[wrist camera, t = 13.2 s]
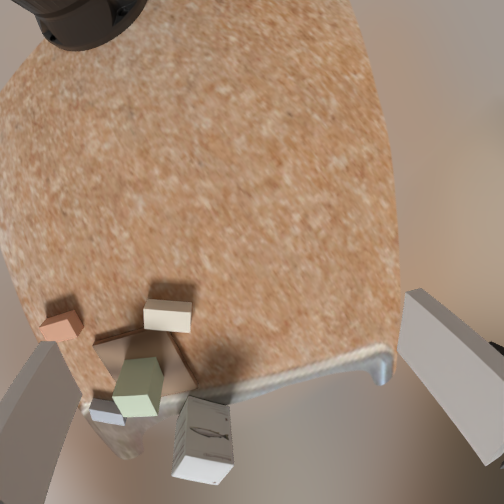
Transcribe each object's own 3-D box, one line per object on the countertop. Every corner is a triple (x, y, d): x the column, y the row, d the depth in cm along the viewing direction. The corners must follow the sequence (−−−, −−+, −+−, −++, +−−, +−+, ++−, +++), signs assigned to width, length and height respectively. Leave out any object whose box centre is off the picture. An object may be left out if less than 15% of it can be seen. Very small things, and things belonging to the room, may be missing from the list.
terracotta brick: (56, 334, 40) (48, 344, 37) (47, 317, 39) (38, 327, 36) (84, 326, 40) (77, 337, 37) (75, 309, 39) (67, 319, 36)
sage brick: (124, 359, 40) (111, 396, 33) (155, 356, 41) (147, 394, 33) (133, 380, 42) (123, 417, 34) (164, 377, 42) (157, 415, 34)
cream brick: (148, 317, 40) (144, 329, 37) (147, 298, 39) (143, 308, 37) (191, 320, 41) (190, 332, 38) (192, 301, 40) (190, 312, 37)
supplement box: (230, 404, 47) (236, 465, 35) (214, 429, 48) (217, 486, 36) (188, 393, 45) (184, 455, 33) (175, 419, 47) (170, 477, 35)
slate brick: (96, 408, 45) (92, 420, 42) (93, 397, 44) (88, 408, 41) (127, 413, 46) (124, 425, 43) (125, 402, 45) (122, 414, 42)
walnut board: (94, 341, 40) (92, 346, 39) (164, 321, 40) (163, 326, 39) (132, 397, 44) (130, 402, 43) (197, 383, 44) (197, 388, 43)
